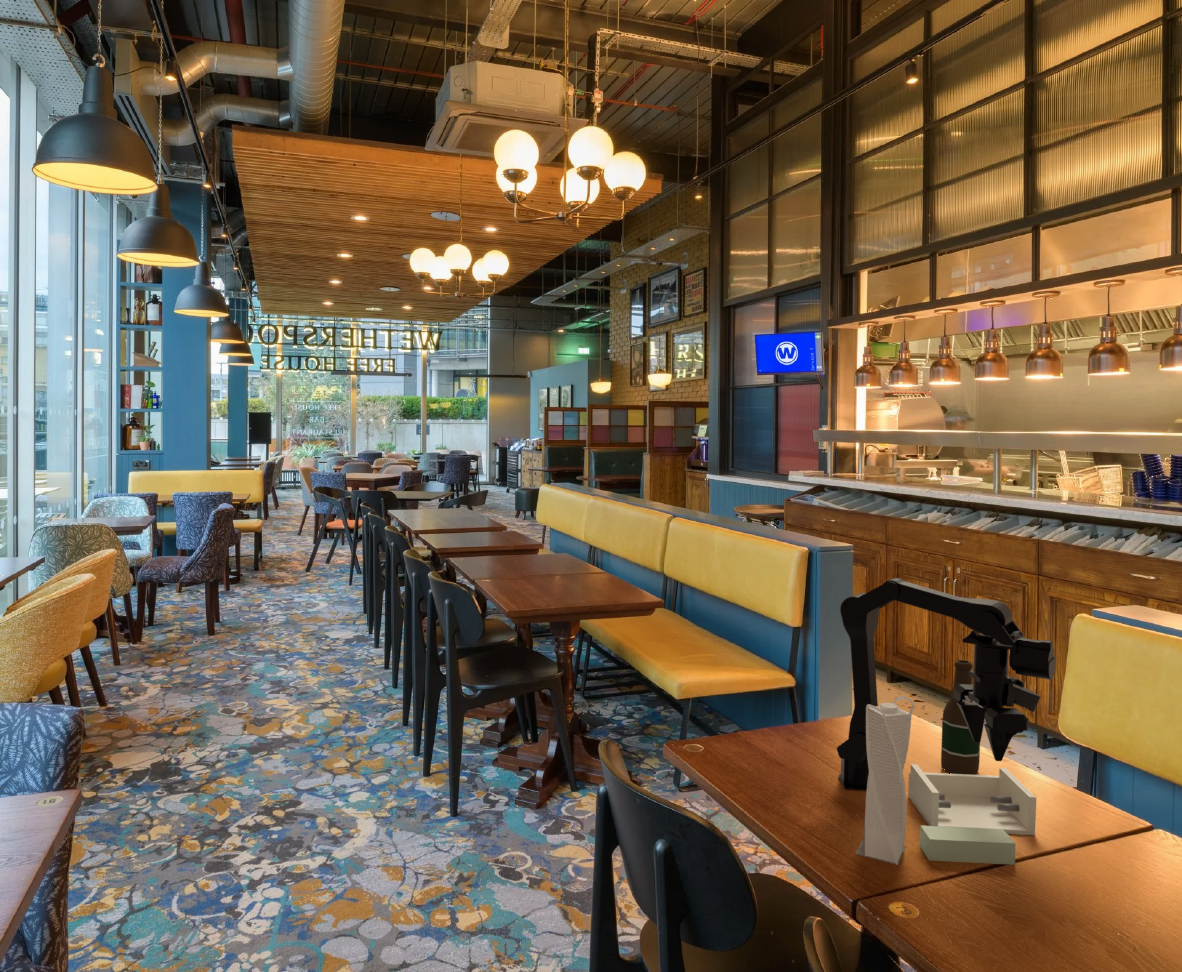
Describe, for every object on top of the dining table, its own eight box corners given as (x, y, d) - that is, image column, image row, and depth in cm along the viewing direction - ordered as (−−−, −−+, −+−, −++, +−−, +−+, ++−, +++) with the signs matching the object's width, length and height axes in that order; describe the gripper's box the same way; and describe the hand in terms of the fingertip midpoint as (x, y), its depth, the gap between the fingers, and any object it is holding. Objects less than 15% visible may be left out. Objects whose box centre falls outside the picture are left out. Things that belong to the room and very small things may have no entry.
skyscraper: (914, 851, 142) (919, 693, 140) (905, 872, 135) (911, 706, 134) (864, 839, 146) (868, 685, 145) (853, 858, 139) (858, 697, 138)
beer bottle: (983, 779, 172) (987, 667, 171) (944, 775, 174) (948, 665, 173) (974, 765, 180) (978, 657, 179) (936, 762, 182) (940, 655, 180)
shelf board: (929, 862, 138) (929, 839, 138) (919, 847, 143) (920, 825, 143) (1014, 866, 137) (1015, 843, 137) (1002, 851, 142) (1003, 829, 142)
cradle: (931, 829, 149) (932, 792, 149) (908, 796, 164) (909, 761, 163) (1035, 835, 148) (1036, 797, 147) (1002, 800, 162) (1003, 766, 162)
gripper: (1060, 685, 142) (1057, 772, 143) (1011, 657, 161) (1008, 734, 162) (995, 683, 143) (992, 770, 144) (953, 655, 161) (951, 733, 162)
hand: (987, 751), depth 153 cm, fingers open, 9 cm apart
